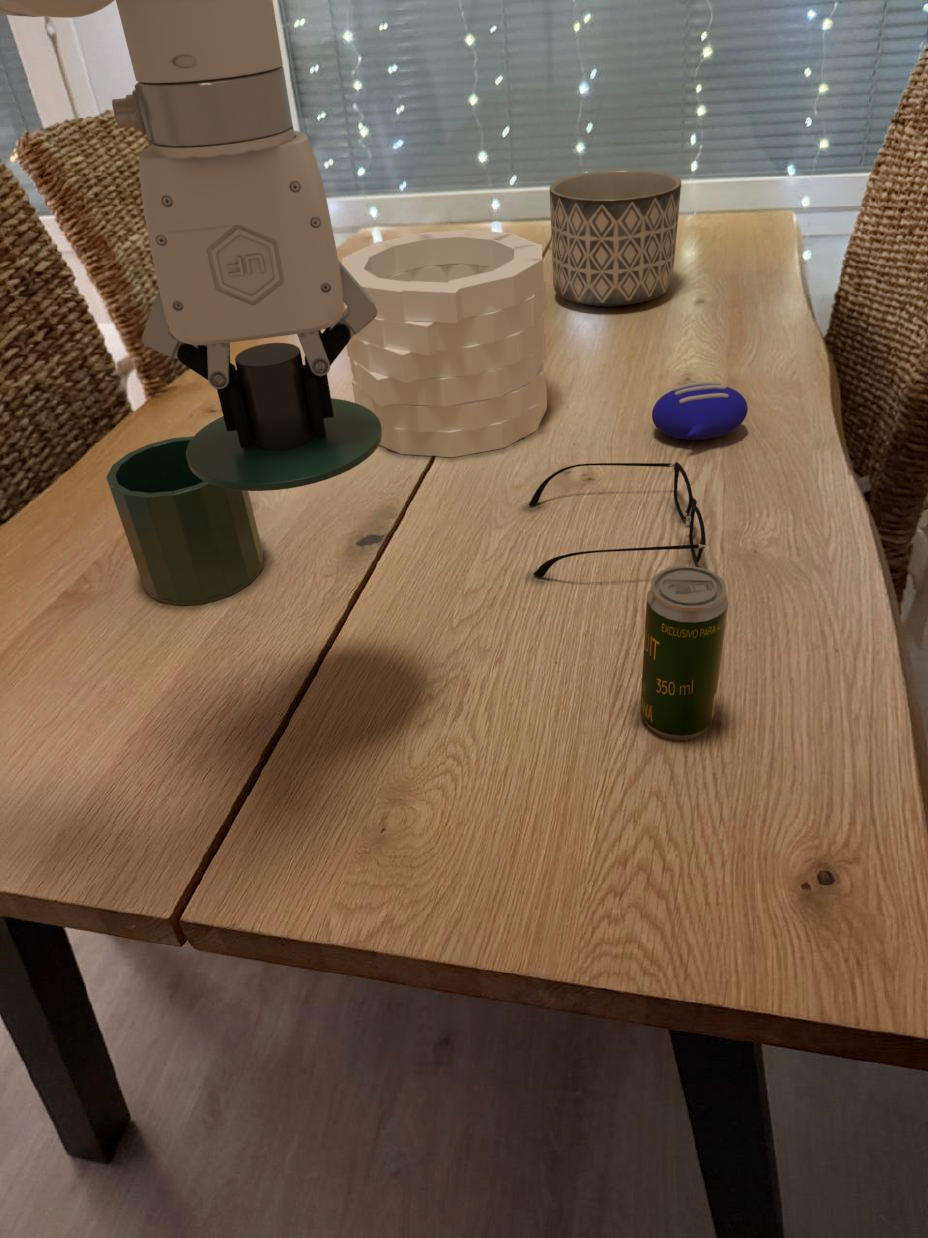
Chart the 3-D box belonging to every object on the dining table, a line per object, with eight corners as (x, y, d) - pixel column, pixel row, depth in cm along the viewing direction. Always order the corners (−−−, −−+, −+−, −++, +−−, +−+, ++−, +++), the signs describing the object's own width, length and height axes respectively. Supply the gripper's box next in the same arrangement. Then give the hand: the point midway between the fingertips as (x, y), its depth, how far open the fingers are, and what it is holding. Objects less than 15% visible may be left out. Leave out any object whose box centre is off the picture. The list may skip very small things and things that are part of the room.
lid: (150, 487, 58) (119, 387, 54) (253, 404, 67) (234, 314, 63) (329, 511, 54) (310, 404, 50) (413, 419, 63) (402, 324, 59)
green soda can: (705, 692, 71) (720, 561, 64) (720, 741, 66) (738, 607, 59) (634, 695, 71) (641, 566, 64) (645, 744, 67) (654, 612, 60)
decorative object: (657, 397, 98) (652, 373, 107) (652, 450, 101) (648, 422, 110) (758, 399, 97) (745, 375, 106) (750, 453, 100) (739, 425, 108)
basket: (394, 372, 127) (377, 228, 116) (565, 379, 121) (564, 228, 109) (324, 455, 108) (295, 292, 97) (523, 469, 102) (517, 296, 90)
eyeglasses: (710, 579, 83) (714, 541, 80) (534, 587, 83) (533, 550, 81) (679, 489, 96) (682, 454, 93) (527, 497, 97) (526, 463, 94)
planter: (681, 278, 150) (689, 168, 140) (664, 318, 136) (671, 199, 126) (566, 275, 156) (565, 169, 146) (538, 314, 142) (535, 199, 132)
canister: (118, 596, 87) (79, 488, 80) (186, 532, 96) (156, 431, 89) (224, 613, 84) (192, 503, 77) (284, 546, 92) (261, 441, 85)
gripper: (41, 143, 45) (145, 478, 56) (383, 107, 46) (419, 440, 57) (68, 120, 51) (157, 427, 62) (370, 89, 52) (405, 393, 63)
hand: (283, 430), depth 59 cm, fingers closed on lid, 4 cm apart
